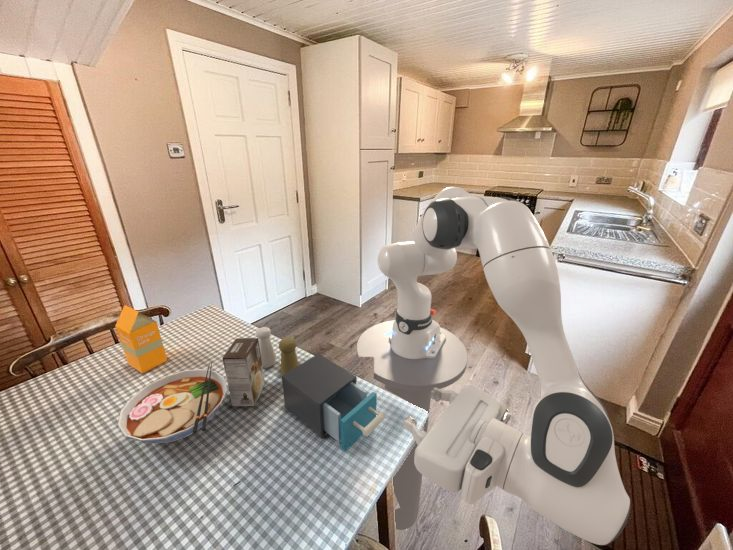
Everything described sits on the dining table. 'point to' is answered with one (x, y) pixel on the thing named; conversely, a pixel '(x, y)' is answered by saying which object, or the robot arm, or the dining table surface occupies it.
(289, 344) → the olive pepper shaker
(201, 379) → the ramen bowl
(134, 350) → the orange juice
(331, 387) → the grey drawer cabinet
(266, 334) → the salt shaker
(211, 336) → the dining table surface
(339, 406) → the teal drawer
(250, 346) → the coffee box
